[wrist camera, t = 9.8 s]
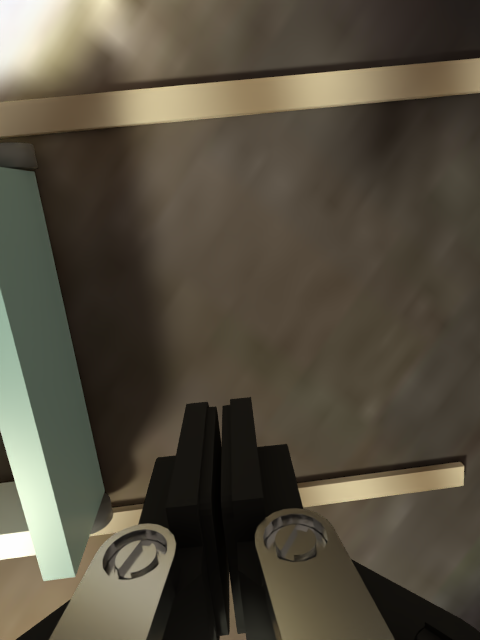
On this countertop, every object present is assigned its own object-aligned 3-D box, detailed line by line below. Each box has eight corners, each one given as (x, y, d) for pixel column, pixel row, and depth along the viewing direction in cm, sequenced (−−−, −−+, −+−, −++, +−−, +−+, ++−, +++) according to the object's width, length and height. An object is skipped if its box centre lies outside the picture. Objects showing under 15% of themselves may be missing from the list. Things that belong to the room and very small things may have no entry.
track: (480, 60, 18) (487, 57, 17) (458, 480, 23) (463, 485, 23) (-343, 135, 16) (-355, 134, 16) (-153, 562, 22) (-160, 569, 22)
